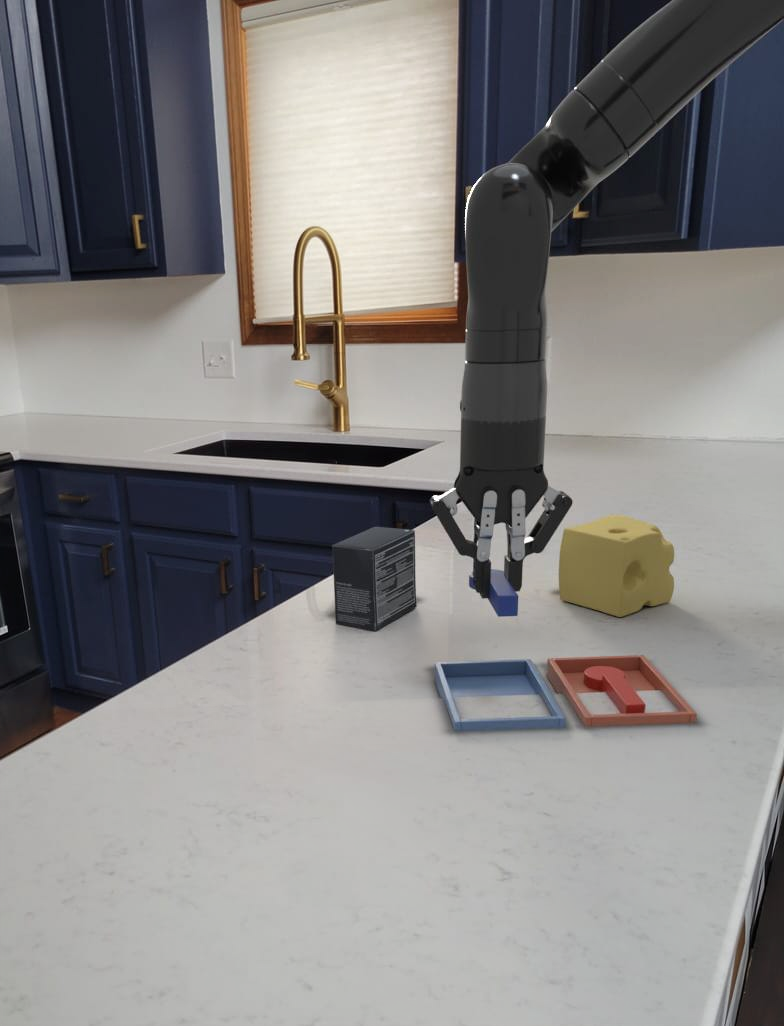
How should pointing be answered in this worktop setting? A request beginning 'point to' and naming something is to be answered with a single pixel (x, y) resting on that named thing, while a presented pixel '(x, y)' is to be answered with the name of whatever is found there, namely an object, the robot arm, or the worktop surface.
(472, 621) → the worktop surface
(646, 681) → the red tray
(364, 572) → the small box
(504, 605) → the blue spoon
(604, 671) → the red spoon
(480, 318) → the robot arm
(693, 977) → the worktop surface
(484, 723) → the blue tray
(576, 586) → the cheese
